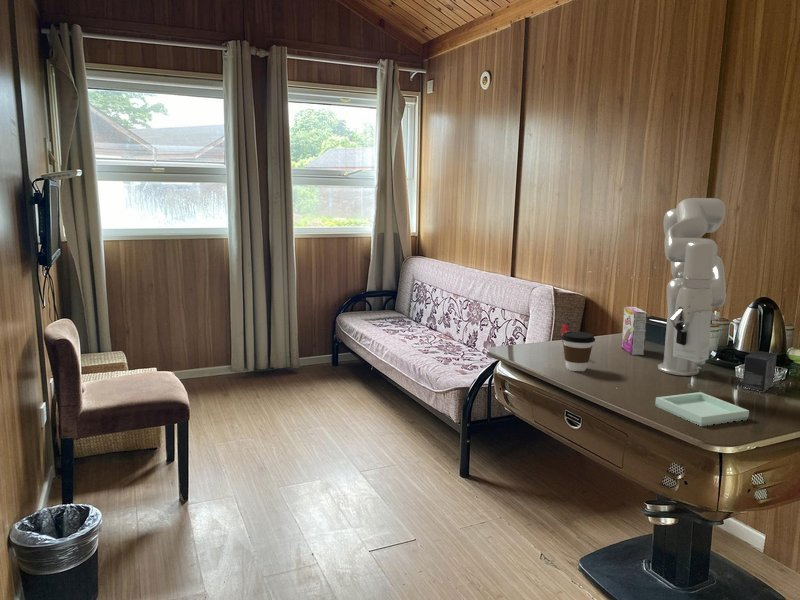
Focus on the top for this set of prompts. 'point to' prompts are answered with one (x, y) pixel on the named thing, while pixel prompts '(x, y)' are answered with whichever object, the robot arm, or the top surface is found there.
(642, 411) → the top surface
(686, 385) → the top surface
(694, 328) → the skincare box
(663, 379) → the top surface
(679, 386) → the top surface
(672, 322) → the robot arm
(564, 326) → the decorative bird figurine
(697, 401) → the tray
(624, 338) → the candy bar box
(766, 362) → the small box
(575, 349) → the coffee cup
